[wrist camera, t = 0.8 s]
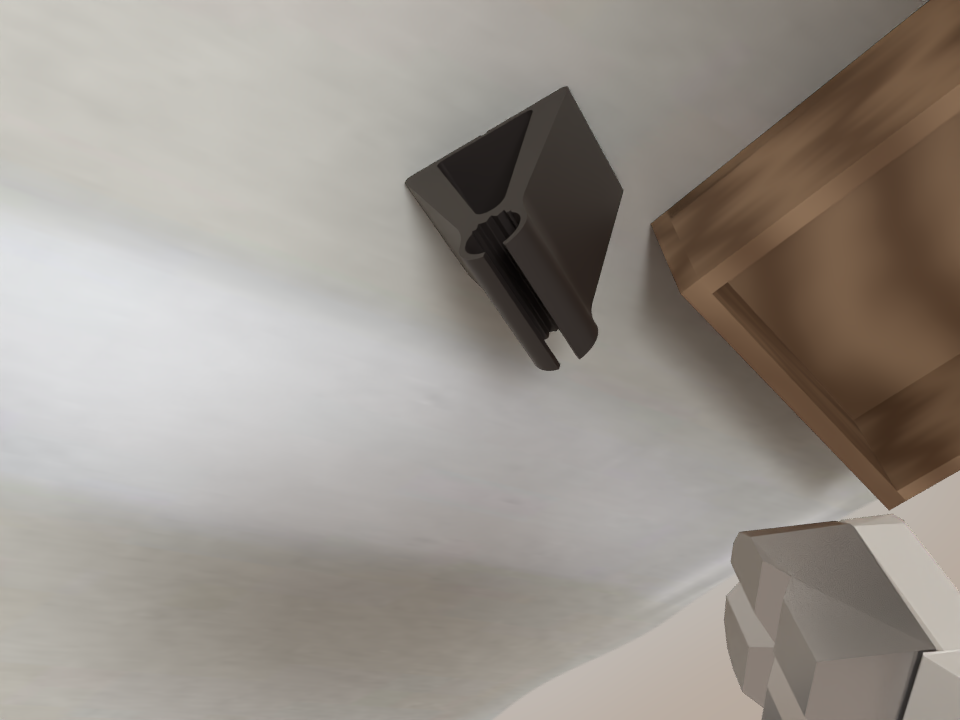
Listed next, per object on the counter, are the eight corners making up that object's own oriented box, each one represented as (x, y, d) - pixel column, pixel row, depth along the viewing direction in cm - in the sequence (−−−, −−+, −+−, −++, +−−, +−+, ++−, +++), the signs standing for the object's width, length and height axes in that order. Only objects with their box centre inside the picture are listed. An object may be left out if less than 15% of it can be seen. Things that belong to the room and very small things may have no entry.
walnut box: (1004, -60, 37) (1106, -27, 31) (1161, 227, 45) (1265, 296, 39) (650, 223, 44) (680, 293, 38) (841, 427, 52) (889, 510, 47)
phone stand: (567, 84, 40) (605, 190, 30) (622, 187, 43) (673, 315, 33) (404, 178, 42) (390, 305, 33) (467, 270, 46) (471, 411, 36)
